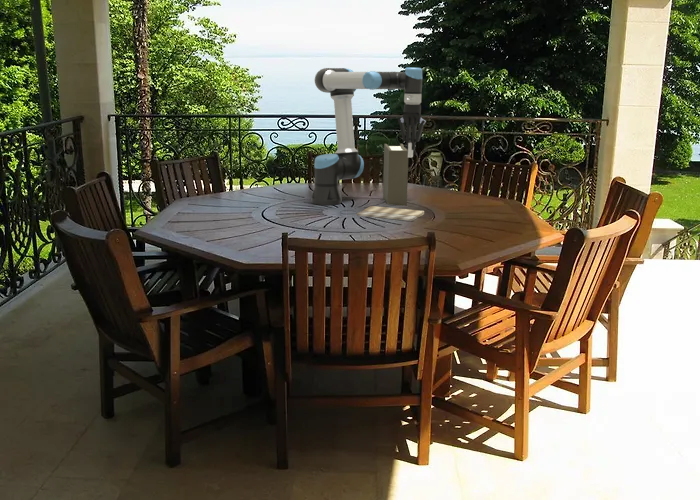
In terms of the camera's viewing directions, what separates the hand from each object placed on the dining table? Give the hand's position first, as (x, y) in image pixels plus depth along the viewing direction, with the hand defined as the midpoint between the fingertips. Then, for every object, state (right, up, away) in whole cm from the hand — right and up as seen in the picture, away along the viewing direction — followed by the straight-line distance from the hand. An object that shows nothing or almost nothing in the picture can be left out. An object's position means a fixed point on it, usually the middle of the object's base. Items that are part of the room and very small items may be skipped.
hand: (410, 157), depth 299 cm
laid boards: (-11, -28, -7) cm, 31 cm away
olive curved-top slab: (-5, -18, +31) cm, 37 cm away
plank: (-8, -26, 0) cm, 27 cm away
